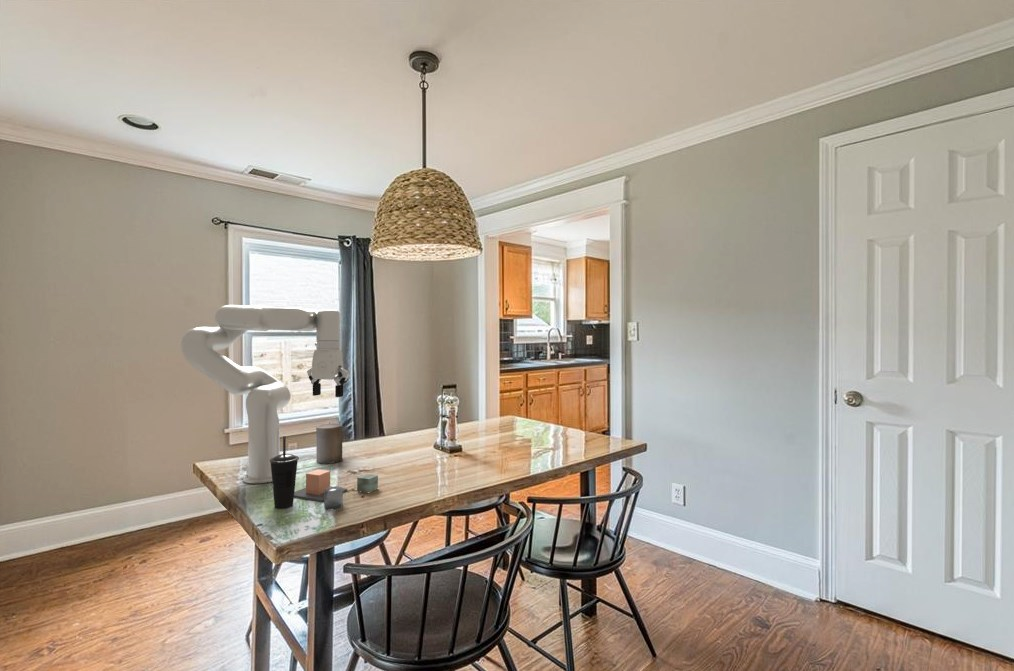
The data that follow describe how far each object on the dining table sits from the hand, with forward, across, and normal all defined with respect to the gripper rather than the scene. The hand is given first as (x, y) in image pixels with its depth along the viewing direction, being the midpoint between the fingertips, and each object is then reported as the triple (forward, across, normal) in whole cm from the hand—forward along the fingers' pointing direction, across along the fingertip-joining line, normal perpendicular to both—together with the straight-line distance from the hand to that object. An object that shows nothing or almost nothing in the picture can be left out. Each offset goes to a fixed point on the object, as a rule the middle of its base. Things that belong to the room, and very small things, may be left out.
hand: (327, 396), depth 165 cm
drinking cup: (+28, +7, -25) cm, 39 cm away
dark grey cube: (+28, +20, -20) cm, 40 cm away
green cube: (+28, +20, -4) cm, 35 cm away
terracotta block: (+28, +8, -13) cm, 32 cm away
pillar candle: (+28, -16, +19) cm, 38 cm away
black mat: (+28, +8, -13) cm, 32 cm away
